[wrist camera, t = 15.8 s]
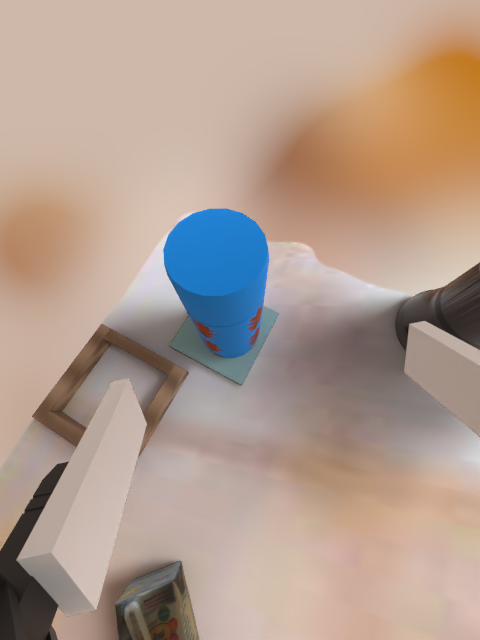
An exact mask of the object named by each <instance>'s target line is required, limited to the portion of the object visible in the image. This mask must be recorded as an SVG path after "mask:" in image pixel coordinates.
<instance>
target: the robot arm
mask: <svg viewBox="0 0 480 640" xmlns="http://www.w3.org/2000/svg"><path fill="white" fill-rule="evenodd" d="M396 331H397V335H398V338H399V340H400V342H401V344H402V346H403V347H404V349H405V350H406V358H405V367H404V373H405V374H406V375H407V376H409V377H410V378H411V379H412V380H413V381H415V382H416V383H417V384H418V385H419V386H420V387H422V388H423V389H424V390H425V391H426V392H427V393H429V394H430V395H431V396H432V397H433V398H434V399H436V400H437V401H438V402H439V403H440V404H442V405H443V406H444V407H445V408H446V409H447V410H449V411H450V412H451V413H452V414H453V415H454V416H456V417H457V418H458V419H459V420H460V421H461V422H463V423H464V424H465V425H466V426H467V427H469V428H470V429H471V430H472V431H473V432H474V433H476V434H477V435H478V436H479V437H480V263H478V264H477V265H475V266H474V267H472V268H471V269H469V270H468V271H467V272H465V273H464V274H462V275H461V276H459V277H458V278H456V279H455V280H453V281H452V282H450V283H449V284H448V285H446V286H445V287H442V288H438V289H435V290H428V291H424V292H421V293H419V294H417V295H415V296H413V297H412V298H411V299H409V300H408V301H407V302H406V303H404V305H403V306H402V307H401V308H400V310H399V312H398V314H397V318H396ZM146 426H147V423H146V420H145V418H144V415H143V413H142V410H141V407H140V405H139V402H138V400H137V397H136V395H135V392H134V389H133V387H132V384H131V382H130V379H129V378H127V379H122V380H117V381H112V382H111V384H110V386H109V388H108V390H107V392H106V393H105V395H104V397H103V399H102V401H101V403H100V405H99V407H98V408H97V410H96V412H95V414H94V416H93V418H92V420H91V421H90V423H89V425H88V427H87V429H86V431H85V433H84V435H83V436H82V438H81V440H80V442H79V444H78V446H77V448H76V450H75V451H74V453H73V455H72V457H71V459H70V461H69V462H66V463H61V464H57V465H56V466H55V467H54V468H53V469H52V470H51V472H50V473H49V474H48V475H47V476H46V477H45V478H44V479H43V480H42V482H41V484H40V485H39V487H38V489H37V490H36V492H35V494H34V495H33V499H31V500H30V502H29V504H28V505H27V507H26V509H25V513H24V514H22V516H21V517H20V519H19V521H18V522H17V524H16V526H15V527H14V529H13V531H12V532H11V534H10V536H9V537H8V539H7V541H6V542H5V544H4V546H3V547H2V549H1V551H0V640H57V636H56V632H55V630H54V629H53V627H52V626H51V624H52V621H53V619H54V616H55V613H56V611H57V608H58V607H59V608H60V609H61V611H62V612H63V613H64V614H65V615H66V616H67V617H69V616H74V615H78V614H82V613H87V612H91V611H96V610H97V606H98V603H99V599H100V595H101V592H102V588H103V584H104V581H105V577H106V573H107V570H108V566H109V562H110V559H111V555H112V551H113V547H114V544H115V540H116V536H117V533H118V529H119V525H120V522H121V518H122V514H123V511H124V507H125V503H126V500H127V496H128V492H129V489H130V485H131V481H132V477H133V474H134V470H135V466H136V463H137V459H138V455H139V452H140V448H141V444H142V441H143V437H144V433H145V430H146Z"/></svg>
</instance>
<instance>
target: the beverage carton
mask: <svg viewBox="0 0 480 640" xmlns="http://www.w3.org/2000/svg"><path fill="white" fill-rule="evenodd" d="M115 608H116V616H117V629H118V634H119V640H199V636H198V632H197V627H196V622H195V618H194V613H193V609H192V605H191V600H190V596H189V592H188V588H187V584H186V581H185V576H184V572H183V567H182V562H181V561H178V562H176V563H174V564H172V565H170V566H168V567H166V568H163V569H161V570H158V571H156V572H153V573H151V574H148V575H146V576H143V577H140V578H138V579H136V580H134V581H132V582H131V583H130V584H129V586H127V587H126V589H125V591H124V592H123V594H122V596H121V597H120V598H119V599H118V600H117V601H116V603H115Z"/></svg>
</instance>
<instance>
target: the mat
mask: <svg viewBox="0 0 480 640" xmlns="http://www.w3.org/2000/svg"><path fill="white" fill-rule="evenodd" d="M278 314H279V313H277V312H275V311H273V310H271V309H268V308H266V307H264V306H263V310H262V318H261V325H260V331H259V335H258V338H257V341H256V343H255V344H254V346H253V348H252V349H251V350H249V351H248V352H247V353H246V354H245V355H242V356H239V357H236V358H223V357H221V356H218V355H215V354H214V353H213V352H212V351H211V350H210V349H208V348H207V346H206V345H205V344H204V342H203V340H202V339H201V337H200V335H199V333H198V331H197V329H196V327H195V326H194V324H193V322H192V320H191V318H190V316H188V317H187V319H186V321H185V322H184V324H183V325H182V327H181V328H180V330H179V331H178V333H177V335H176V336H175V338H174V339H173V341H172V342H171V344H170V345H169V346H170V347H171V348H173V349H175V350H177V351H179V352H181V353H182V354H184V355H186V356H188V357H190V358H192V359H194V360H195V361H197V362H199V363H201V364H203V365H205V366H207V367H208V368H210V369H212V370H214V371H216V372H218V373H220V374H221V375H223V376H225V377H227V378H229V379H231V380H233V381H234V382H236V383H238V384H240V385H242V384H243V382H244V380H245V378H246V377H247V375H248V373H249V371H250V369H251V367H252V365H253V363H254V361H255V359H256V357H257V355H258V353H259V351H260V350H261V348H262V346H263V344H264V342H265V340H266V338H267V336H268V334H269V332H270V330H271V328H272V326H273V324H274V323H275V321H276V319H277V317H278Z"/></svg>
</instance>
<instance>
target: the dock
mask: <svg viewBox="0 0 480 640" xmlns="http://www.w3.org/2000/svg"><path fill="white" fill-rule="evenodd" d="M111 343H113V344H115V345H116V346H118V347H120V348H122V349H123V350H125V351H127V352H129V353H131V354H132V355H134V356H136V357H138V358H139V359H141V360H143V361H145V362H146V363H148V364H150V365H152V366H154V367H155V368H157V369H159V370H161V371H162V372H164V373H166V374H168V377H167V378H166V380H165V381H164V383H163V385H162V386H161V388H160V390H159V391H158V393H157V394H156V396H155V398H154V399H153V401H152V402H151V404H150V406H149V407H148V409H147V411H146V412H145V414H144V418H145V420H146V423H147V426H146V430H145V433H144V437H143V441H142V444H141V448H140V452H139V455H140V454H141V452H142V450H143V449H144V447H145V445H146V444H147V442H148V440H149V439H150V437H151V435H152V434H153V432H154V430H155V429H156V427H157V425H158V424H159V422H160V420H161V419H162V417H163V415H164V413H165V412H166V410H167V408H168V407H169V405H170V403H171V402H172V400H173V398H174V397H175V395H176V393H177V392H178V390H179V388H180V387H181V385H182V383H183V382H184V380H185V378H186V376H187V375H188V372H187V371H186V370H185V369H183V368H181V367H179V366H177V365H176V364H174V363H172V362H170V361H168V360H166V359H165V358H163V357H161V356H159V355H157V354H156V353H154V352H152V351H150V350H148V349H147V348H145V347H143V346H141V345H139V344H137V343H136V342H134V341H132V340H130V339H128V338H127V337H125V336H123V335H121V334H119V333H117V332H116V331H114V330H112V329H110V328H108V327H107V326H105V325H103V324H101V325H100V327H99V328H98V329H97V331H96V332H95V333H94V335H93V336H92V337H91V339H90V340H89V341H88V343H87V344H86V345H85V347H84V348H83V349H82V351H81V352H80V353H79V355H78V356H77V357H76V359H75V360H74V361H73V363H72V364H71V365H70V367H69V368H68V369H67V371H66V372H65V373H64V375H63V376H62V377H61V379H60V380H59V381H58V382H57V384H56V385H55V387H54V388H53V389H52V390H51V392H50V393H49V394H48V396H47V397H46V398H45V400H44V401H43V402H42V404H41V405H40V406H39V408H38V409H37V410H36V412H35V413H34V414H33V416H32V417H34V418H35V419H37V420H38V421H39V422H41V423H42V424H44V425H45V426H47V427H48V428H50V429H51V430H53V431H54V432H56V433H57V434H59V435H60V436H62V437H63V438H65V439H66V440H68V441H69V442H70V443H72V444H73V445H75V446H76V447H77V446H78V444H79V442H80V440H81V438H82V436H83V435H84V433H85V431H86V429H87V428H85V427H84V426H82V425H81V424H79V423H78V422H76V421H75V420H73V419H72V418H70V417H69V416H67V415H66V414H64V413H63V412H62V410H63V409H64V408H65V406H66V405H67V404H68V402H69V401H70V399H71V398H72V397H73V395H74V394H75V392H76V391H77V390H78V388H79V387H80V386H81V384H82V383H83V381H84V380H85V379H86V377H87V376H88V374H89V373H90V372H91V370H92V369H93V367H94V366H95V365H96V363H97V362H98V361H99V359H100V358H101V356H102V355H103V354H104V352H105V351H106V349H107V348H108V347H109V345H110V344H111ZM139 455H138V457H139Z"/></svg>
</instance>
